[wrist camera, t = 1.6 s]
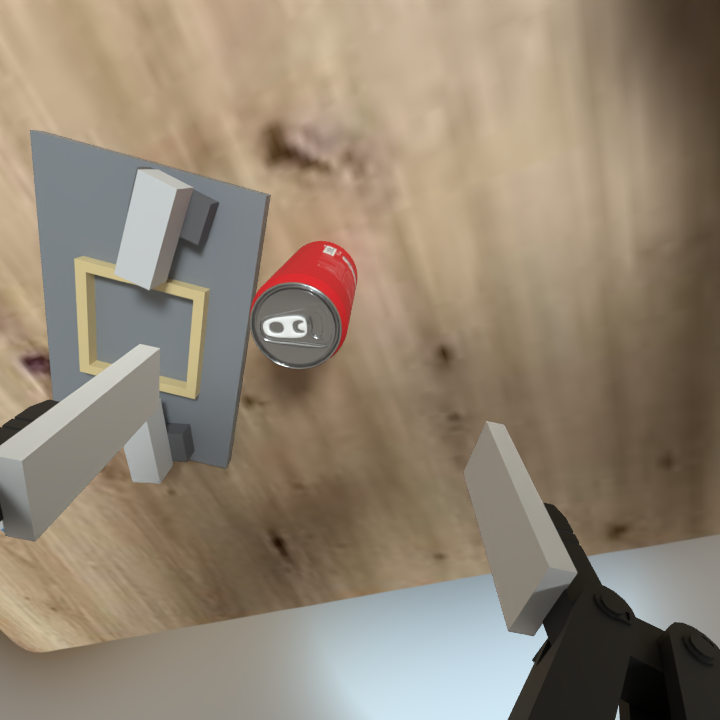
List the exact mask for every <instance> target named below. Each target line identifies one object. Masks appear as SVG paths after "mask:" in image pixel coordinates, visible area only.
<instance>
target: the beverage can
mask: <svg viewBox="0 0 720 720" xmlns="http://www.w3.org/2000/svg"><path fill="white" fill-rule="evenodd" d="M356 284H357V270H356V266H355V264H354V261H353V260H352V258H351V256H350V255H349V254H348V253H347V252H346V251H345V250H344V249H343V248H341V247H340V246H338V245H336V244H334V243H331V242H326V241H316V242H312V243H309V244H307V245H305V246H303V247H302V248H300V249H299V250H298V251H297V252H296V253H295V254H294V255H293V256H292V257H291V258H290V259H289V260H288V261H287V262H286V263H285V264H284V265H283V266H282V267H281V268H280V269H279V270H278V271H277V272H276V273H275V274H274V275H273V276H272V277H271V278H270V279H269V280H268V281H267V282H266V283H265V284H264V285H263V286H262V287H261V288H260V289H259V291H258V292H257V293H256V295H255V297H254V299H253V302H252V305H251V309H250V329H251V333H252V337H253V339H254V341H255V343H256V345H257V347H258V348H259V349H260V351H261V352H262V353H263V354H264V355H265V356H266V357H267V358H269V359H270V360H271V361H272V362H274V363H276V364H278V365H281V366H283V367H287V368H291V369H308V368H312V367H315V366H318V365H320V364H322V363H324V362H325V361H326V360H328V359H329V358H331V357H332V356H333V355H334V354H335V353H336V352H337V351H338V350H339V349H340V347H341V346H342V344H343V342H344V340H345V337H346V334H347V330H348V325H349V320H350V315H351V310H352V305H353V300H354V295H355V290H356Z"/></svg>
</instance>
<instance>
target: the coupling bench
mask: <svg viewBox="0 0 720 720" xmlns="http://www.w3.org/2000/svg"><path fill="white" fill-rule="evenodd" d="M30 135H31V147H32V159H33V170H34V182H35V194H36V205H37V217H38V229H39V240H40V252H41V264H42V275H43V287H44V299H45V310H46V322H47V334H48V345H49V357H50V369H51V380H52V392H53V400H54V401H59V402H61V401H62V400H63V399H65V398H66V397H68V396H69V395H70V394H72V393H73V392H74V391H76V390H77V389H79V388H80V387H81V386H83V385H84V384H85V383H87V382H88V381H90V380H91V379H92V378H94V377H95V376H96V375H98V374H99V373H101V372H102V371H103V370H105V369H106V368H107V367H109V366H110V365H112V364H113V363H114V362H116V361H117V360H118V359H120V358H121V357H123V356H124V355H125V354H127V353H128V352H129V351H131V350H132V349H134V348H135V347H136V346H138V345H139V344H143V345H148V346H152V347H157V348H160V379H159V408H158V409H157V410H156V411H155V413H154V414H153V415H152V416H151V417H150V418H149V419H148V420H147V421H146V422H145V423H144V424H143V426H142V427H141V428H140V429H139V430H138V431H137V432H136V433H135V434H134V435H133V436H132V437H131V439H130V440H129V441H128V442H127V443H126V444H125V445H124V450H125V454H126V458H127V462H128V466H129V470H130V474H131V478H132V482H142V483H157V484H160V483H161V482H162V481H163V479H164V478H165V476H166V475H167V473H168V472H169V471H170V469H171V468H172V466H173V461H179V462H187V461H188V460H191V461H196V462H200V463H204V464H209V465H213V466H217V467H222V468H227V466H228V464H229V462H230V460H231V453H232V446H233V440H234V433H235V427H236V420H237V413H238V407H239V400H240V394H241V387H242V380H243V374H244V367H245V360H246V354H247V347H248V341H249V334H250V309H251V305H252V302H253V299H254V297H255V294H256V288H257V281H258V275H259V268H260V261H261V255H262V248H263V241H264V235H265V228H266V222H267V215H268V208H269V202H270V195H269V194H265V193H262V192H258V191H255V190H251V189H247V188H244V187H240V186H237V185H233V184H229V183H226V182H222V181H219V180H215V179H212V178H208V177H204V176H201V175H197V174H194V173H190V172H187V171H183V170H179V169H176V168H172V167H169V166H165V165H162V164H158V163H154V162H151V161H147V160H144V159H140V158H137V157H133V156H129V155H126V154H122V153H119V152H115V151H111V150H108V149H104V148H101V147H97V146H94V145H90V144H86V143H83V142H79V141H76V140H72V139H69V138H65V137H61V136H58V135H54V134H51V133H47V132H43V131H35V130H30Z"/></svg>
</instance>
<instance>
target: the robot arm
mask: <svg viewBox="0 0 720 720" xmlns="http://www.w3.org/2000/svg"><path fill="white" fill-rule="evenodd" d="M159 379H160V348H157V347H152V346H148V345H143V344H139V345H138V346H136V347H135V348H134V349H132V350H131V351H129V352H128V353H127V354H125V355H124V356H123V357H121V358H120V359H118V360H117V361H116V362H114V363H113V364H112V365H110V366H109V367H107V368H106V369H105V370H103V371H102V372H101V373H99V374H98V375H96V376H95V377H94V378H92V379H91V380H90V381H88V382H87V383H85V384H84V385H83V386H81V387H80V388H79V389H77V390H76V391H74V392H73V393H72V394H70V395H69V396H68V397H66V398H65V399H63V400H62V401H61V402H59V401H54V400H47V401H44V402H41V403H39V404H36V405H33V406H31V407H29V408H27V409H26V410H24V411H23V412H21V413H20V414H18V415H17V416H16V417H15V419H11V420H10V421H8V422H7V423H5V424H4V425H3V427H2V428H1V427H0V522H1V521H3V526H4V531H5V536H9V537H14V538H19V539H25V540H30V541H36V540H37V539H38V538H39V537H40V536H41V535H42V534H43V533H44V532H45V531H46V529H47V528H48V527H49V526H50V525H51V524H52V523H53V522H54V521H55V520H56V519H57V518H58V516H59V515H60V514H61V513H62V512H63V511H64V510H65V509H66V508H67V507H68V506H69V505H70V503H71V502H72V501H73V500H74V499H75V498H76V497H77V496H78V495H79V494H80V493H81V492H82V490H83V489H84V488H85V487H86V486H87V485H88V484H89V483H90V482H91V481H92V480H93V479H94V477H95V476H96V475H97V474H98V473H99V472H100V471H101V470H102V469H103V468H104V467H105V466H106V464H107V463H108V462H109V461H110V460H111V459H112V458H113V457H114V456H115V455H116V454H117V453H118V452H119V450H120V449H121V448H122V447H123V446H124V445H125V444H126V443H127V442H128V441H129V440H130V439H131V437H132V436H133V435H134V434H135V433H136V432H137V431H138V430H139V429H140V428H141V427H142V426H143V424H144V423H145V422H146V421H147V420H148V419H149V418H150V417H151V416H152V415H153V414H154V413H155V411H156V410H157V409H158V408H159ZM463 473H464V477H465V480H466V484H467V487H468V491H469V494H470V498H471V501H472V505H473V509H474V512H475V516H476V519H477V523H478V526H479V530H480V533H481V537H482V540H483V544H484V548H485V551H486V555H487V558H488V562H489V565H490V569H491V572H492V576H493V579H494V583H495V587H496V590H497V594H498V597H499V601H500V604H501V608H502V611H503V615H504V618H505V622H506V625H507V629H508V631H509V632H514V633H520V634H525V635H530V636H534V635H535V634H536V632H537V631H538V629H539V628H540V626H541V625H542V624H543V625H544V627H545V630H546V633H547V636H548V639H547V640H546V641H545V643H544V644H543V646H542V647H541V648H540V650H539V651H538V653H537V654H536V655H535V657H534V658H533V660H532V661H534V662H535V663H534V665H533V667H532V670H531V672H530V674H529V676H528V678H527V680H526V682H525V684H524V686H523V689H522V691H521V693H520V695H519V697H518V699H517V701H516V703H515V705H514V708H513V710H512V712H511V714H510V716H509V718H508V720H615V718H616V713H617V709H618V705H619V714H620V720H720V649H719V648H718V647H717V646H716V644H714V643H713V642H712V641H711V640H710V639H709V638H708V637H706V635H704V634H703V633H701V632H700V631H698V630H697V629H695V628H694V627H692V626H689V625H687V624H684V623H677V622H674V623H673V624H672V625H670V626H669V627H668V628H667V629H666V631H663V630H661V629H659V628H657V627H655V626H653V625H651V624H649V623H646V622H644V621H642V620H640V619H638V618H636V617H635V615H634V613H633V611H632V609H631V608H630V607H629V605H628V604H627V603H626V602H625V600H623V598H621V597H620V596H619V595H618V594H617V593H615V592H614V591H612V590H611V589H609V588H607V587H605V586H603V585H602V584H601V582H600V580H599V578H598V577H597V575H596V573H595V571H594V569H593V567H592V566H591V564H590V562H589V560H588V558H587V556H586V554H585V552H584V551H583V549H582V547H581V546H580V545H579V541H578V540H577V538H576V536H575V534H573V530H572V528H571V527H570V525H569V523H568V521H567V519H566V518H565V517H564V516H563V514H562V513H561V512H560V511H559V510H558V509H557V508H556V507H555V506H554V505H551V504H546V503H543V502H542V500H541V498H540V496H539V494H538V492H537V490H536V488H535V486H534V484H533V482H532V480H531V478H530V476H529V474H528V472H527V470H526V468H525V466H524V464H523V462H522V460H521V458H520V456H519V453H518V451H517V449H516V447H515V445H514V443H513V441H512V439H511V437H510V435H509V433H508V431H507V429H506V427H505V425H503V424H498V423H494V422H489V421H486V422H485V425H484V427H483V429H482V432H481V434H480V436H479V438H478V441H477V443H476V445H475V447H474V450H473V452H472V454H471V456H470V459H469V461H468V463H467V466H466V468H465V470H464V472H463Z"/></svg>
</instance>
